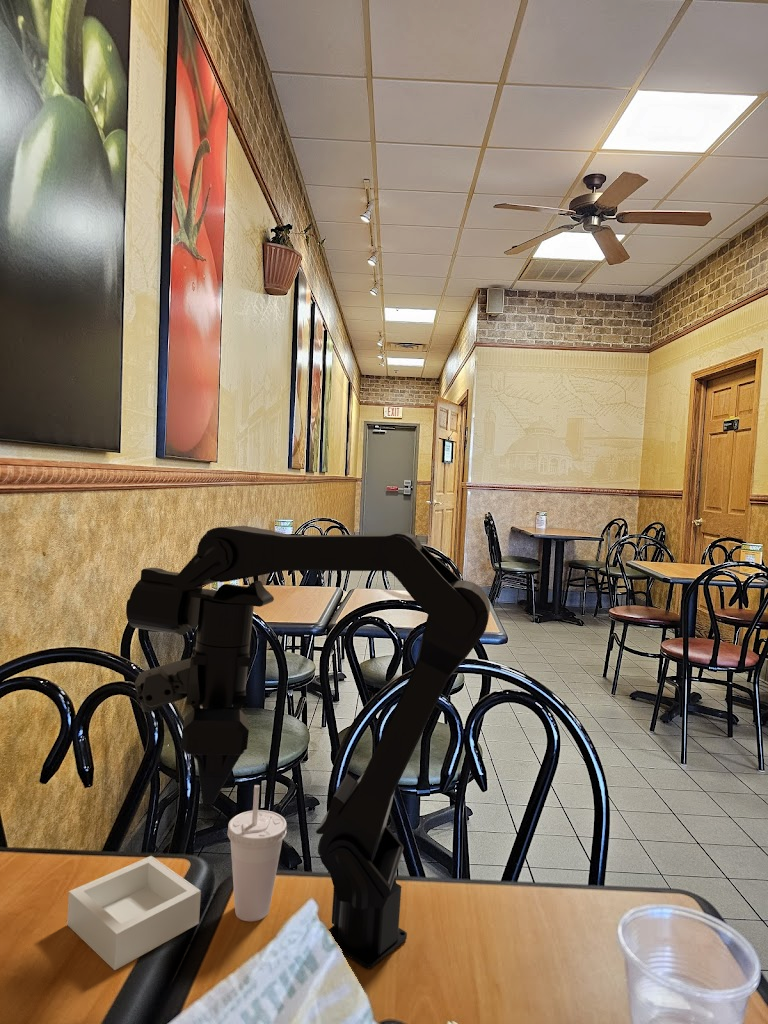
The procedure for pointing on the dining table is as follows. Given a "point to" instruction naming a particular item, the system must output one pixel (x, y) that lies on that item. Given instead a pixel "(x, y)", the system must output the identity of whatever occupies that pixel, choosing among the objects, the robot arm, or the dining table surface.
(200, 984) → the dining table surface
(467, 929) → the dining table surface
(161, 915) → the box
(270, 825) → the smoothie
